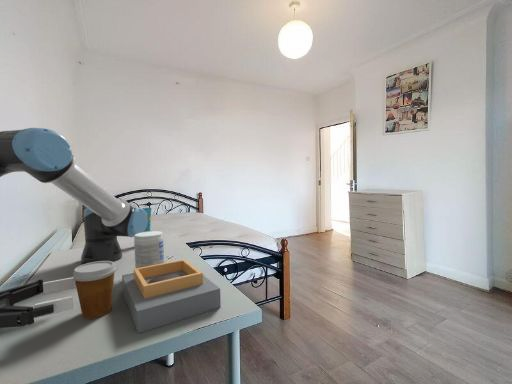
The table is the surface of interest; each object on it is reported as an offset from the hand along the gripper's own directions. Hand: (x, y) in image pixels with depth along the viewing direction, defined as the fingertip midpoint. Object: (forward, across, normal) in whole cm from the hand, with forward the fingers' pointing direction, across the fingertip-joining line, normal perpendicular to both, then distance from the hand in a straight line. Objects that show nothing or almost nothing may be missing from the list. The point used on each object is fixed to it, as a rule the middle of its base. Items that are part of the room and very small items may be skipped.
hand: (74, 291), depth 63 cm
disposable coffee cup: (+4, 0, -7) cm, 8 cm away
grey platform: (+21, 0, -7) cm, 23 cm away
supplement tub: (+21, -21, -7) cm, 31 cm away
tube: (+28, -67, -7) cm, 73 cm away
